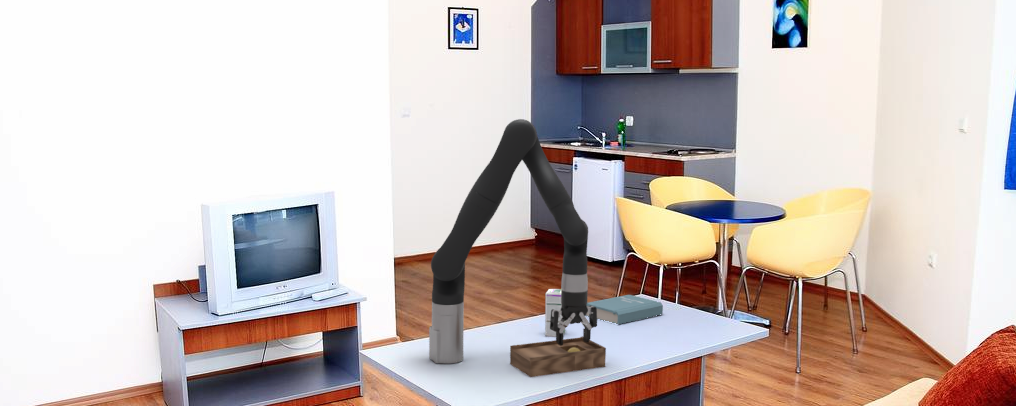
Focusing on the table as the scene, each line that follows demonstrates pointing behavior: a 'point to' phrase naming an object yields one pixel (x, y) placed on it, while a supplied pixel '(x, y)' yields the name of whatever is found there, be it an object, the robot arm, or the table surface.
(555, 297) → the syrup box
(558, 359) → the wooden tray with hole
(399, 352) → the table surface
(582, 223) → the robot arm
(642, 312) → the book
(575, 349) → the ball
